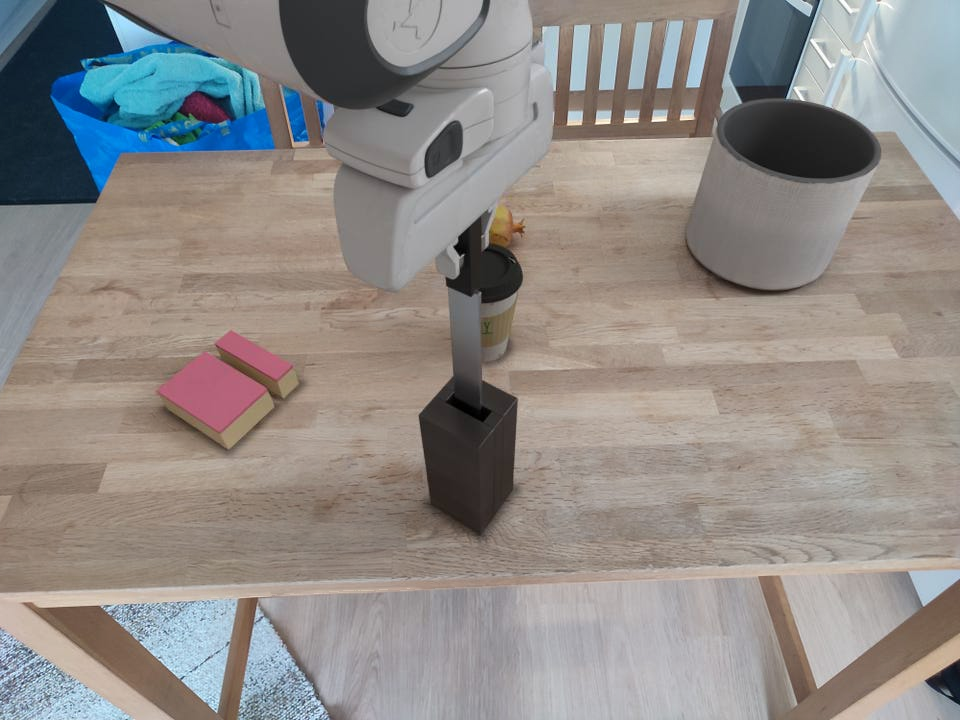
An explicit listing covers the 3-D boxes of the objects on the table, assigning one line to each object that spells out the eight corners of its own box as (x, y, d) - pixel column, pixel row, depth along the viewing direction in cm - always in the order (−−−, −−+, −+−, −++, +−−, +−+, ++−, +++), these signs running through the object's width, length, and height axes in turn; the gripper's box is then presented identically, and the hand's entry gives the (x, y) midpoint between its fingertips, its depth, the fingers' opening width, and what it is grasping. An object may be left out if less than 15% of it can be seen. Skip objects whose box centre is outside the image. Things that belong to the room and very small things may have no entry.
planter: (690, 291, 100) (726, 178, 85) (677, 204, 114) (707, 93, 99) (841, 301, 98) (906, 187, 83) (809, 211, 112) (859, 99, 97)
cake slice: (283, 398, 87) (276, 379, 84) (223, 362, 92) (214, 343, 89) (299, 383, 89) (292, 364, 86) (239, 349, 93) (230, 329, 90)
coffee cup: (443, 327, 96) (437, 246, 84) (508, 315, 97) (511, 234, 86) (458, 378, 89) (454, 298, 78) (527, 364, 91) (533, 284, 79)
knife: (477, 432, 64) (472, 226, 45) (452, 418, 65) (437, 211, 47) (486, 421, 65) (485, 214, 46) (461, 408, 66) (450, 200, 47)
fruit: (461, 229, 101) (527, 230, 100) (464, 194, 104) (527, 194, 104) (464, 256, 107) (526, 256, 107) (466, 222, 110) (526, 222, 110)
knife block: (480, 536, 74) (478, 448, 61) (430, 505, 77) (418, 415, 63) (513, 490, 78) (518, 398, 64) (464, 462, 81) (459, 368, 67)
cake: (228, 450, 82) (218, 431, 79) (167, 409, 86) (155, 390, 83) (274, 406, 86) (267, 388, 83) (214, 370, 91) (204, 350, 88)
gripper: (504, 11, 46) (501, 180, 57) (299, 143, 35) (342, 324, 45) (584, 31, 44) (565, 204, 54) (392, 180, 33) (415, 362, 43)
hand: (462, 260), depth 50 cm, fingers closed on knife, 2 cm apart
